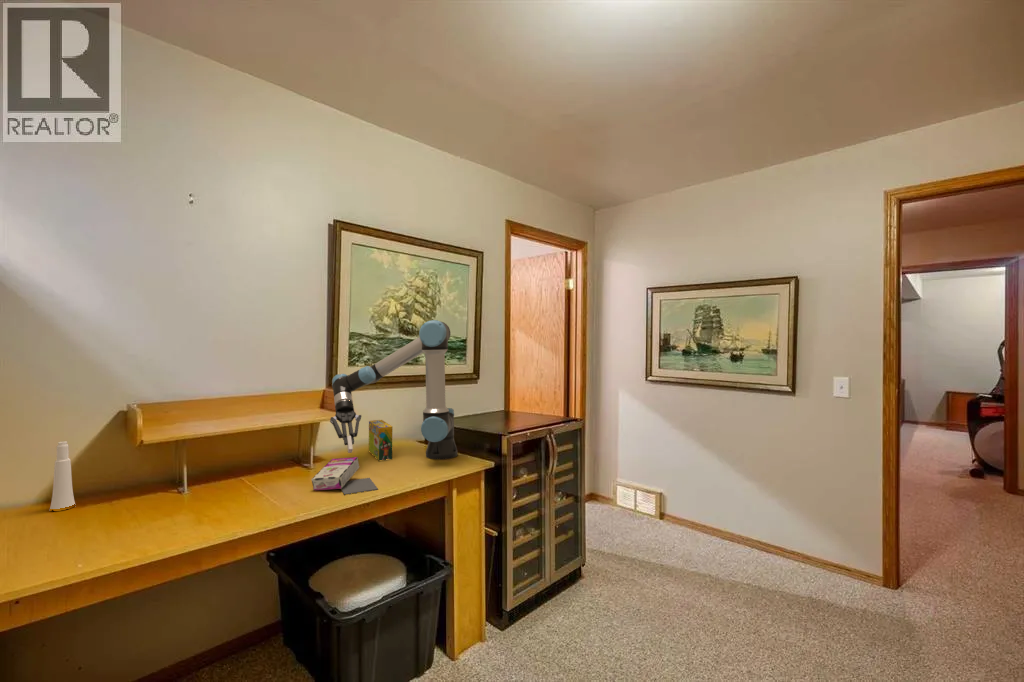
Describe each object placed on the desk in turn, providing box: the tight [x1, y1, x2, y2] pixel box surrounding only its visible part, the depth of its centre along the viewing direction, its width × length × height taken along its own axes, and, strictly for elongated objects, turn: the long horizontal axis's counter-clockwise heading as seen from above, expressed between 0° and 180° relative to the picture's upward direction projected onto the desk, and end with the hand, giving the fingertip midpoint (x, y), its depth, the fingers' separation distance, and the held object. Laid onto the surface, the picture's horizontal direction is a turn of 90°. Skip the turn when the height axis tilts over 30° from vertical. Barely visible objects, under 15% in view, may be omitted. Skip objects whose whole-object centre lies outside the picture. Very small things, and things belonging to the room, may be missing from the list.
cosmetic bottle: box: [49, 440, 76, 510], centre depth 147 cm, size 6×6×22 cm
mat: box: [340, 477, 379, 496], centre depth 170 cm, size 12×15×1 cm
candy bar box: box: [310, 456, 360, 491], centre depth 172 cm, size 11×5×16 cm
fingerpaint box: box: [368, 419, 393, 461], centre depth 214 cm, size 19×7×16 cm, turn 32°
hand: (350, 450), depth 182 cm, fingers closed
